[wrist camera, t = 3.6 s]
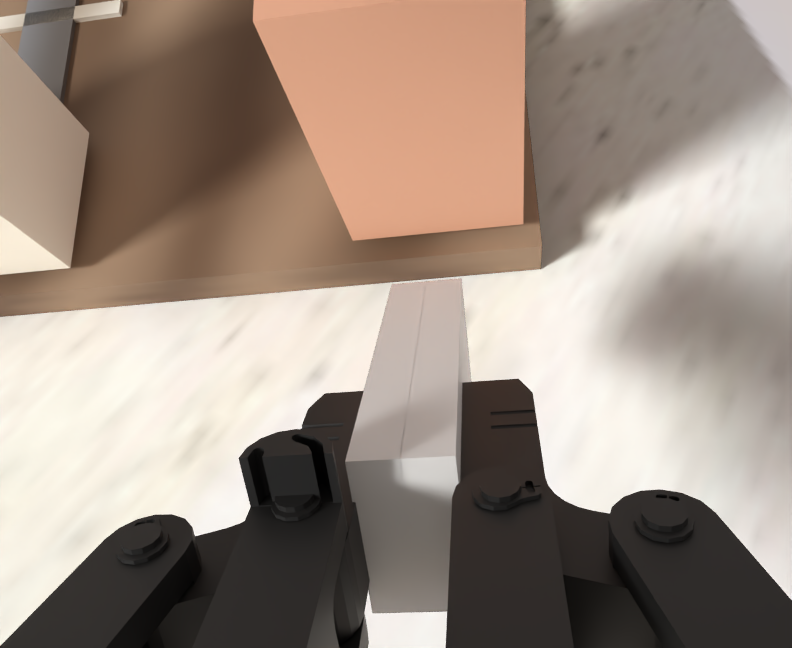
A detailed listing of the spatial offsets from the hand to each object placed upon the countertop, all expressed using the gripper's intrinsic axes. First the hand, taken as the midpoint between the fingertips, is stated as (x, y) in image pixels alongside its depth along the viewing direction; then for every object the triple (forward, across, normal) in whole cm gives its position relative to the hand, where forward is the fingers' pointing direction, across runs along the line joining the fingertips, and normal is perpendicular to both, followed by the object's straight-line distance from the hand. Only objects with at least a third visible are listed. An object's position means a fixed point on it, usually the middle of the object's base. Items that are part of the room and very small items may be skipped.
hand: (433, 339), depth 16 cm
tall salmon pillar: (+8, 0, +2) cm, 8 cm away
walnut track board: (+12, -7, +4) cm, 15 cm away
